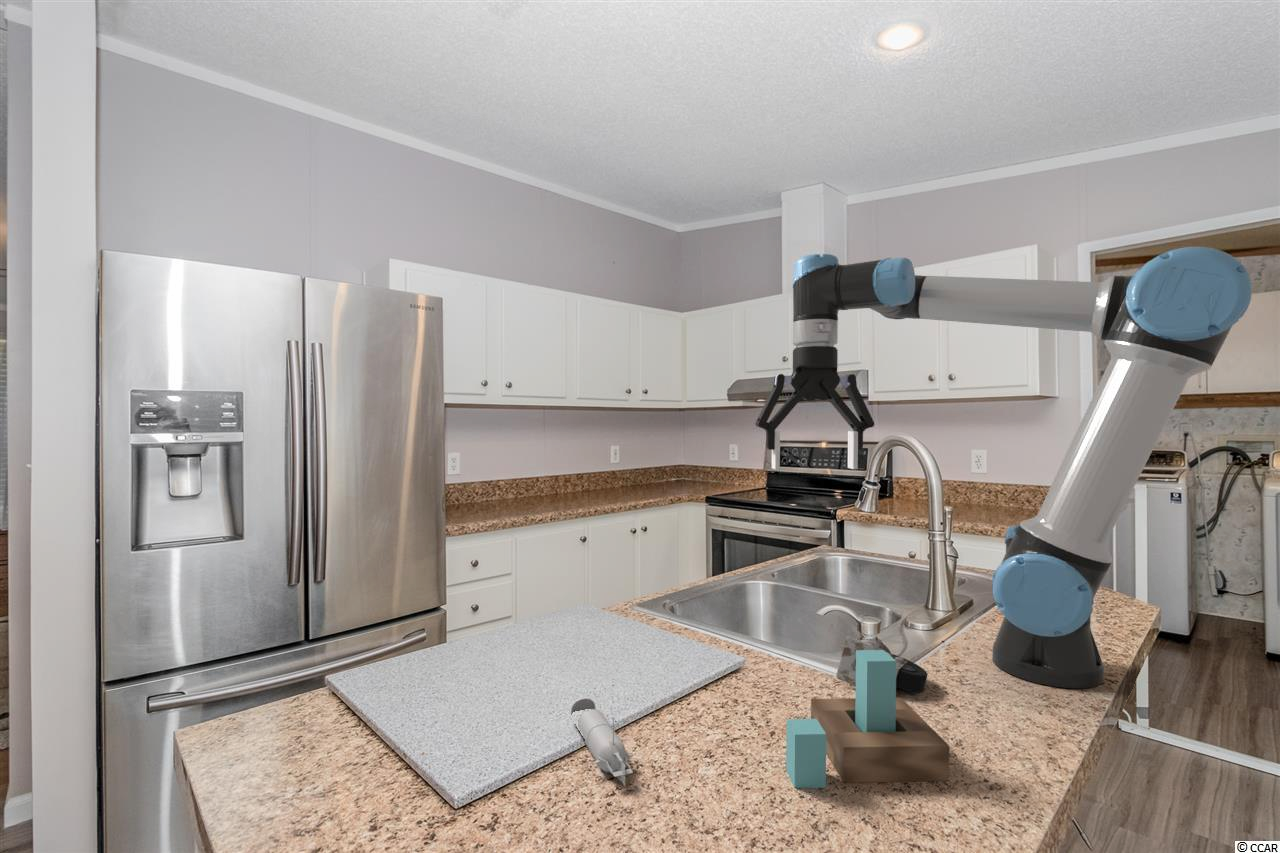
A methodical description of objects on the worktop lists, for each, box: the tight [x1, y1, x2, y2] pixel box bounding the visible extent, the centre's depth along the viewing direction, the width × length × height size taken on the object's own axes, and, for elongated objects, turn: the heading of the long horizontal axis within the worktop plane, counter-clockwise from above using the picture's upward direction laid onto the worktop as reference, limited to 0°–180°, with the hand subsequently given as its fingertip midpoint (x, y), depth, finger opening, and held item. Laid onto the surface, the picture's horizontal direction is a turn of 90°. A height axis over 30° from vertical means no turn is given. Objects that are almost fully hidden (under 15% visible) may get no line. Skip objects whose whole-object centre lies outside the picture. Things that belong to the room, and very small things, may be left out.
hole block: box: [810, 697, 950, 784], centre depth 77 cm, size 12×12×4 cm
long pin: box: [855, 650, 897, 732], centre depth 77 cm, size 4×4×12 cm
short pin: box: [785, 718, 827, 789], centre depth 72 cm, size 4×4×6 cm
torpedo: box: [570, 696, 634, 787], centre depth 78 cm, size 18×5×7 cm, turn 22°
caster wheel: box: [836, 635, 928, 693], centre depth 97 cm, size 7×11×10 cm
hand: (814, 468), depth 110 cm, fingers open, 13 cm apart
